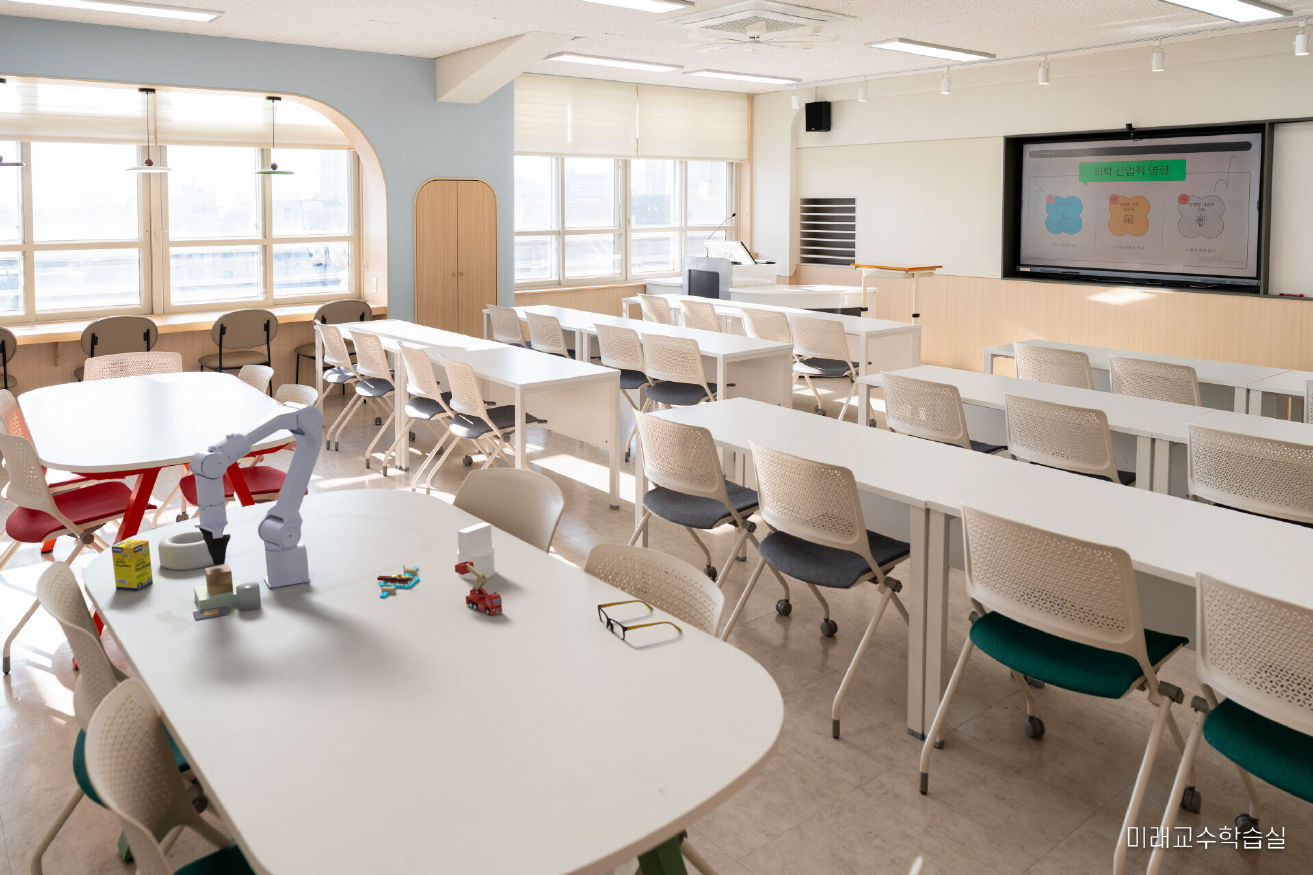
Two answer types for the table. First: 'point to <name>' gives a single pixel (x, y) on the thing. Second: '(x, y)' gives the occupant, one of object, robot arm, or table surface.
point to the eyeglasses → (628, 626)
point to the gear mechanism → (402, 581)
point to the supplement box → (132, 564)
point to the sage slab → (215, 597)
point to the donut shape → (184, 551)
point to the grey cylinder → (248, 596)
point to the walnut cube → (219, 579)
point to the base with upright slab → (476, 549)
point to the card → (211, 613)
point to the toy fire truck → (480, 591)
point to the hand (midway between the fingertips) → (217, 559)
